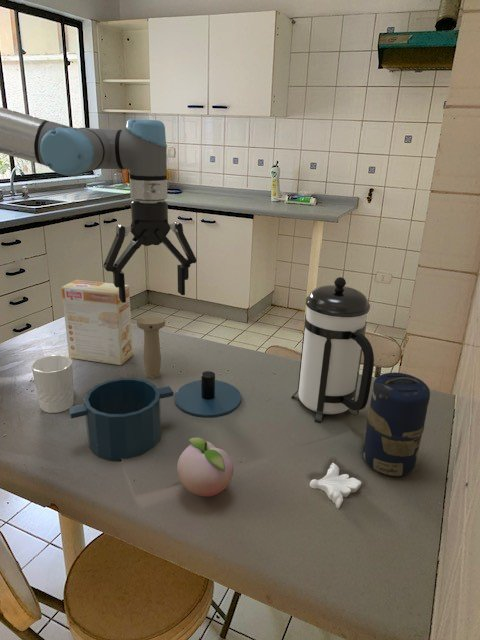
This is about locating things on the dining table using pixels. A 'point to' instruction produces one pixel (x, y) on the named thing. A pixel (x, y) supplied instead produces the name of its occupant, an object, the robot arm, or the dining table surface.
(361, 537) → the dining table surface
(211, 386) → the lid
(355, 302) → the coffee press
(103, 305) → the coffeecake box
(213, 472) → the decorative fruit
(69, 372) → the white cup
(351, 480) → the acanthus leaf ornament
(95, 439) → the pot
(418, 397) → the canister
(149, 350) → the handle
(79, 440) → the dining table surface
